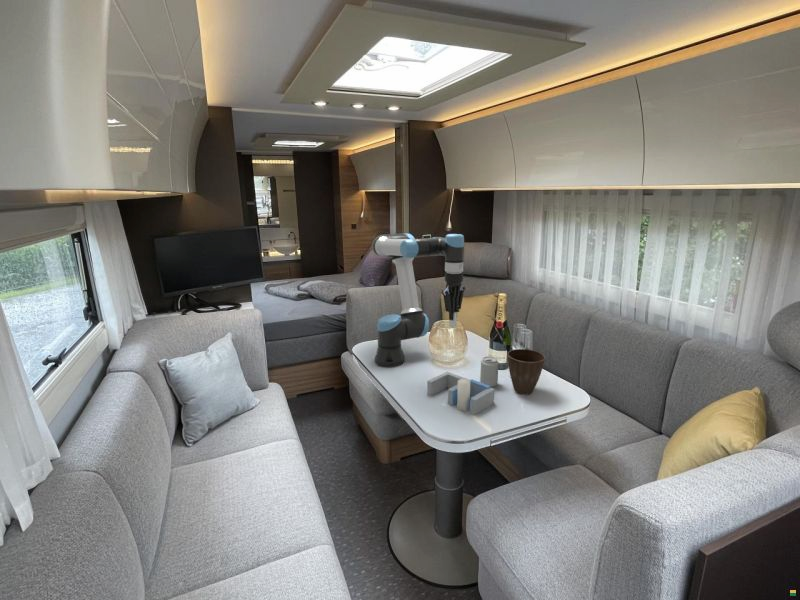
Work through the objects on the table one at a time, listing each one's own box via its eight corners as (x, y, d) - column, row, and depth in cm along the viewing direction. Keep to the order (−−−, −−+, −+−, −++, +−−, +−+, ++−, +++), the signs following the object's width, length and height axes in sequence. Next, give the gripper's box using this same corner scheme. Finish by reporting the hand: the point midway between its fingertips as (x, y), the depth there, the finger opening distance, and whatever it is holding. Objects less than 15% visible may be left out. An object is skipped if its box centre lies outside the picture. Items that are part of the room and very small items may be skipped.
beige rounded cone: (454, 407, 155) (455, 381, 152) (462, 403, 158) (462, 377, 156) (464, 411, 152) (465, 385, 149) (472, 407, 155) (472, 381, 152)
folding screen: (427, 394, 166) (427, 379, 164) (447, 384, 175) (447, 370, 173) (474, 414, 149) (475, 398, 148) (494, 402, 158) (494, 387, 157)
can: (477, 385, 173) (478, 360, 170) (482, 379, 180) (483, 354, 177) (494, 389, 170) (496, 363, 167) (499, 382, 176) (500, 357, 173)
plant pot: (514, 379, 178) (516, 346, 175) (547, 389, 169) (550, 354, 165) (499, 391, 167) (501, 356, 163) (534, 402, 158) (537, 365, 154)
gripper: (451, 275, 157) (450, 332, 162) (470, 271, 165) (469, 325, 171) (436, 273, 162) (436, 328, 167) (456, 269, 171) (455, 321, 176)
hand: (452, 326), depth 169 cm, fingers closed
